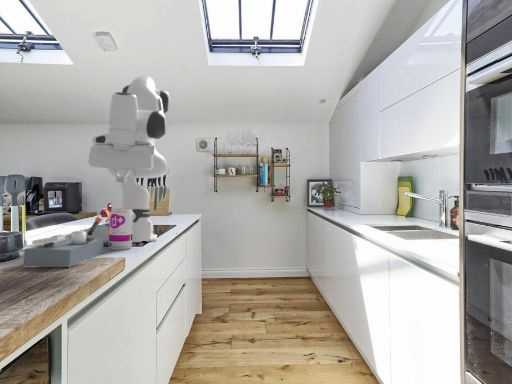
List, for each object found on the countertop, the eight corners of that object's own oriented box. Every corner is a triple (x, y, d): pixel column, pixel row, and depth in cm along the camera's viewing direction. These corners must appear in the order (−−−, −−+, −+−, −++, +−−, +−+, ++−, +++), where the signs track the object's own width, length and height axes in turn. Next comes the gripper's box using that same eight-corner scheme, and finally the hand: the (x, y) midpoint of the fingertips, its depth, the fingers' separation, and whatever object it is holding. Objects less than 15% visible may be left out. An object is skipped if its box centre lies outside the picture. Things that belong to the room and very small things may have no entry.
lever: (87, 232, 104) (98, 215, 105) (93, 235, 104) (104, 218, 105) (85, 233, 102) (96, 215, 103) (90, 236, 102) (101, 219, 103)
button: (75, 242, 99) (75, 230, 99) (88, 242, 99) (88, 231, 99) (68, 244, 95) (69, 232, 95) (82, 244, 95) (82, 232, 96)
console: (66, 252, 108) (67, 235, 108) (102, 253, 108) (103, 236, 108) (23, 267, 86) (24, 245, 86) (69, 268, 86) (70, 246, 87)
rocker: (41, 242, 93) (40, 238, 93) (65, 238, 93) (64, 234, 93) (32, 244, 89) (31, 240, 89) (57, 239, 89) (57, 235, 89)
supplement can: (123, 250, 115) (125, 209, 115) (103, 249, 116) (105, 208, 117) (136, 247, 123) (137, 209, 123) (117, 245, 124) (119, 208, 125)
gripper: (157, 143, 108) (155, 183, 108) (96, 140, 107) (94, 181, 107) (152, 140, 102) (150, 182, 102) (87, 137, 101) (85, 180, 100)
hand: (121, 182), depth 104 cm, fingers closed
